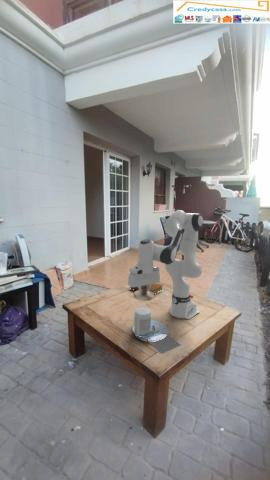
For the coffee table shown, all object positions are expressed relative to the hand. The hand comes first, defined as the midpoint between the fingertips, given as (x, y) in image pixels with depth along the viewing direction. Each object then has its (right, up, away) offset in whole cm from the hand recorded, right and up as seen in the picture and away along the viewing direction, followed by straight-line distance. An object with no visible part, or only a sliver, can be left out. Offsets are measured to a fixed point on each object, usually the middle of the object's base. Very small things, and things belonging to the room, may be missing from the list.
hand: (144, 291), depth 125 cm
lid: (0, -3, 0) cm, 3 cm away
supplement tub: (-1, -26, +4) cm, 27 cm away
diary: (+5, -16, +72) cm, 74 cm away
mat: (+10, -28, -4) cm, 30 cm away
